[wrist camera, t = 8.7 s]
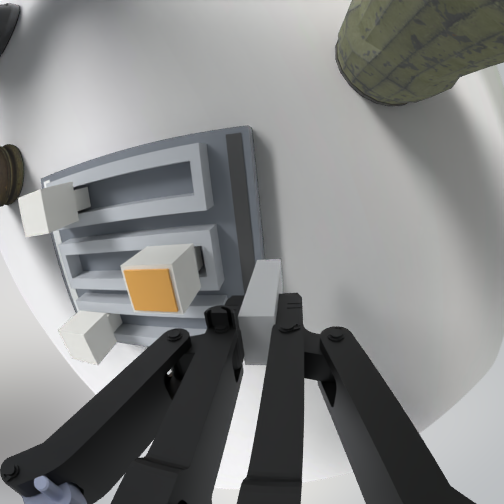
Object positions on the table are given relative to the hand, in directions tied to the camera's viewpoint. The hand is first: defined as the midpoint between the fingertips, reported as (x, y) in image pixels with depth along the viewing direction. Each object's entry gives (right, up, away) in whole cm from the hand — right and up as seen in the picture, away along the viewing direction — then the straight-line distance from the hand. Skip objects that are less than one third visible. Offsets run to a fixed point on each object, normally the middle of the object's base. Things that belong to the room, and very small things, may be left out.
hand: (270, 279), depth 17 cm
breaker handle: (-7, +1, +6) cm, 9 cm away
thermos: (+10, +18, 0) cm, 21 cm away
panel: (-12, +2, +9) cm, 15 cm away
